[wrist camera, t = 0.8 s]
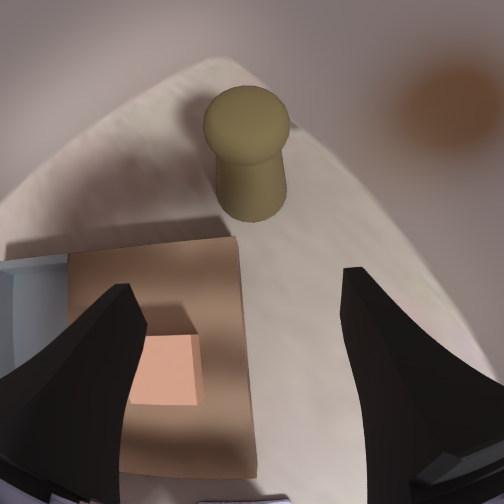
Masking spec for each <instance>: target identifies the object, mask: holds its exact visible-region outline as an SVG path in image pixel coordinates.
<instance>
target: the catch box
mask: <svg viewBox="0 0 504 504" xmlns="http://www.w3.org/2000/svg"><path fill="white" fill-rule="evenodd" d="M68 258H69V253H63V254H55V255H47V256H39V257H31V258H23V259H15V260H7V261H0V378H2V377H4V376H5V375H7V374H9V373H10V372H12V371H13V370H15V369H16V368H18V367H19V366H21V365H22V364H24V363H25V362H26V361H28V360H29V359H31V358H32V357H33V356H35V355H36V354H37V353H39V352H40V351H41V350H42V349H44V348H45V347H46V346H47V345H48V344H50V343H51V342H52V341H53V340H54V339H55V338H56V337H58V336H59V335H60V334H61V333H62V332H63V331H64V330H65V329H66V328H67V327H68V318H67V284H68Z"/></svg>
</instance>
